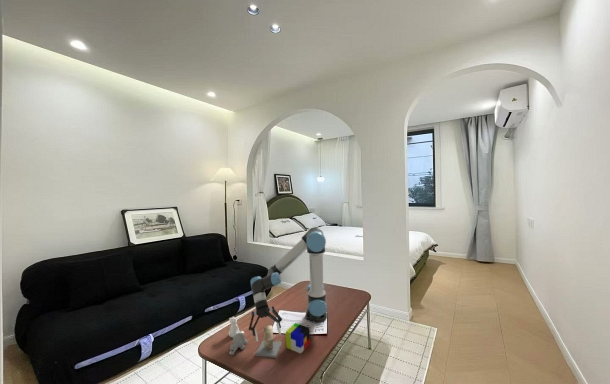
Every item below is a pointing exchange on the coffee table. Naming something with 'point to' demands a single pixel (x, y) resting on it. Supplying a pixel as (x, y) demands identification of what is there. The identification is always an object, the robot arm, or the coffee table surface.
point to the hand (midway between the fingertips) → (268, 338)
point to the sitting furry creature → (234, 327)
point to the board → (269, 353)
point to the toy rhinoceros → (238, 343)
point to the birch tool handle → (268, 337)
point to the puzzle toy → (297, 337)
